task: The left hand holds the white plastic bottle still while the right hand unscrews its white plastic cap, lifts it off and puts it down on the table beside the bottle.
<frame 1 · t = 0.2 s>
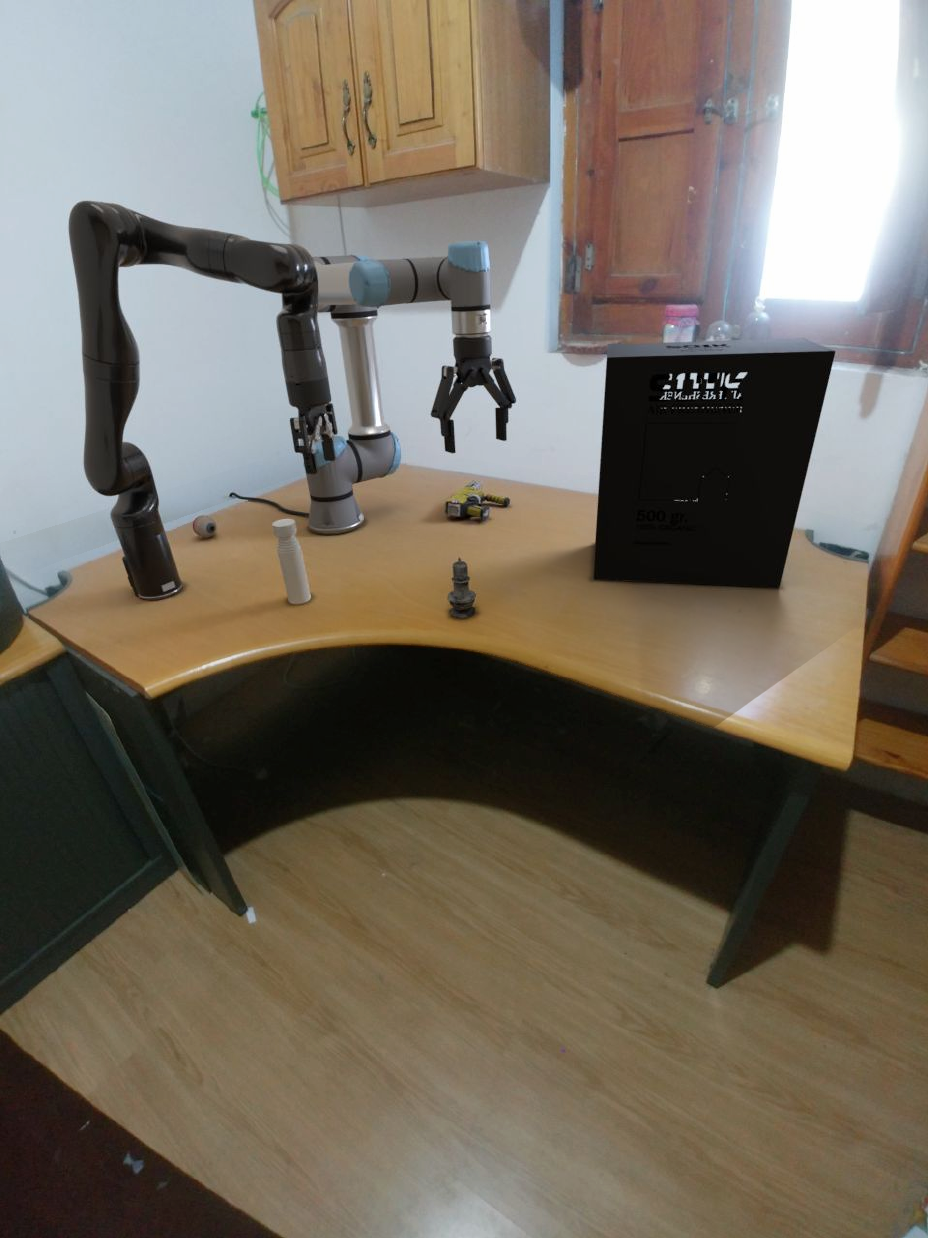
left hand: (321, 466, 115), 29 cm above the table, tool pointing down, fingers open, 8 cm apart
right hand: (476, 445, 127), 28 cm above the table, tool pointing down, fingers open, 13 cm apart
eyeball: (208, 537, 166), on the table
toy gun: (482, 508, 176), on the table
bottle: (299, 599, 131), on the table
cardboard box: (678, 564, 137), on the table
cap: (283, 523, 123), point 17 cm above the table, screwed on, not yet turned
dark grey piece: (462, 612, 123), on the table
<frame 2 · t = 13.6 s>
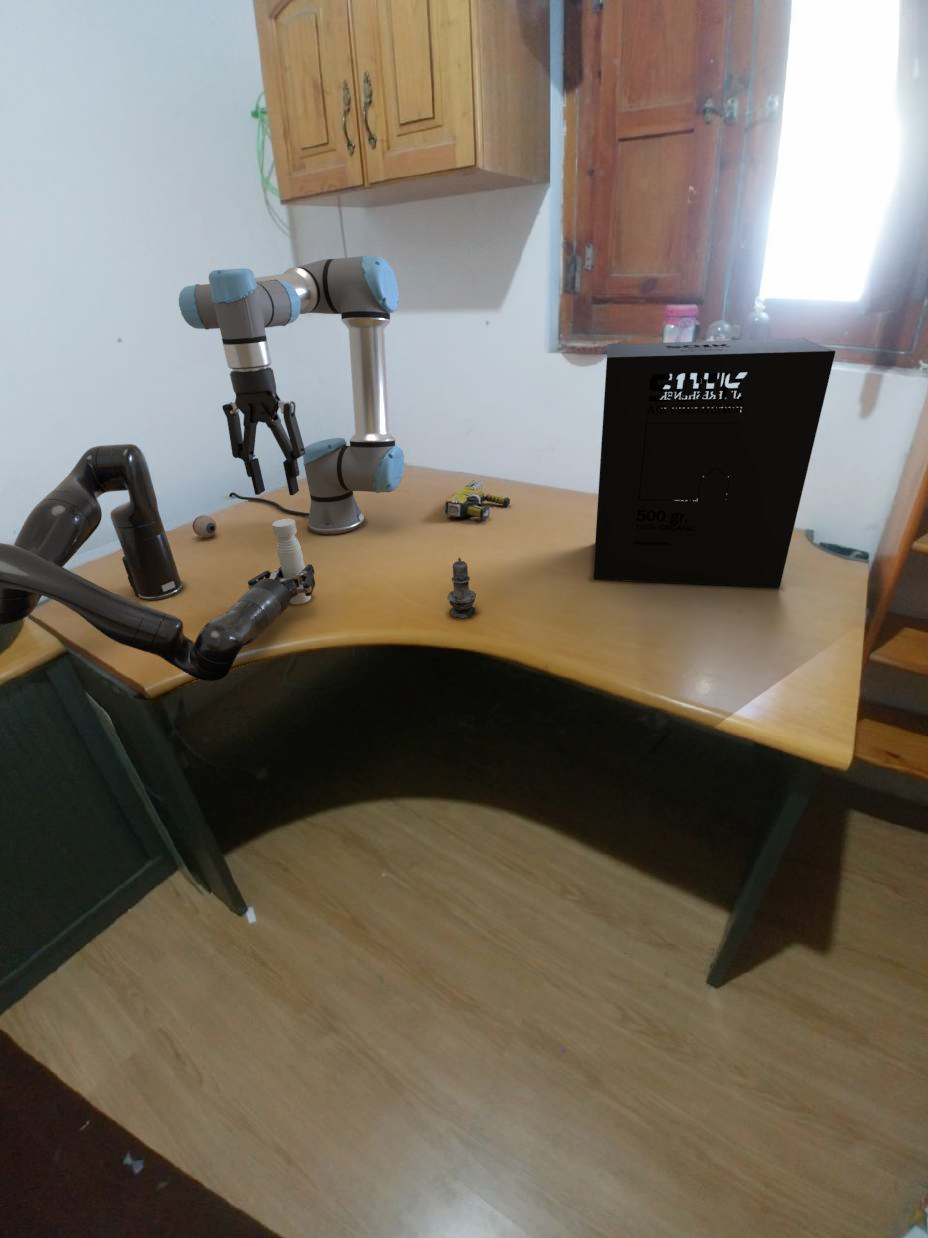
left hand: (299, 567, 130), 6 cm above the table, tool horizontal, fingers closed on bottle, 4 cm apart
right hand: (277, 492, 119), 24 cm above the table, tool pointing down, fingers open, 7 cm apart
bottle: (299, 599, 131), on the table, touching left hand
everything else where it was.
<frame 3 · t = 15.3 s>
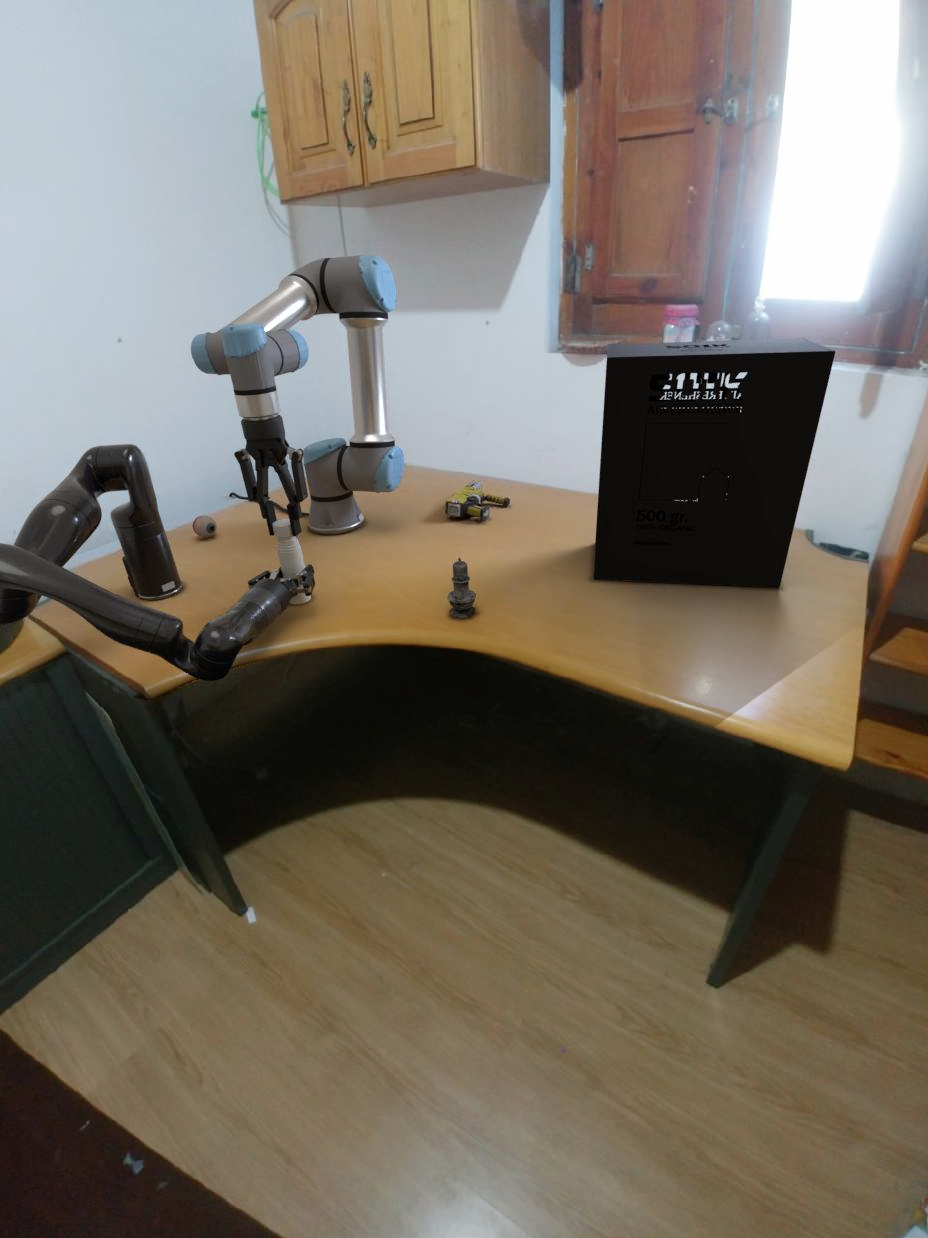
left hand: (299, 567, 130), 6 cm above the table, tool horizontal, fingers closed on bottle, 4 cm apart
right hand: (285, 533, 124), 15 cm above the table, tool pointing down, fingers closed on cap, 4 cm apart
bottle: (299, 599, 131), on the table, touching left hand
cap: (283, 523, 123), point 17 cm above the table, screwed on, not yet turned, touching right hand
everything else where it was.
when the right hand's fingers open (2 cm above the table, at t = 29.7 s): cap drops 2 cm, point 2 cm above the table.
when the left hand's fingers open (6 cm above the table, at t = 31.0 s): bottle stays where it is, on the table.
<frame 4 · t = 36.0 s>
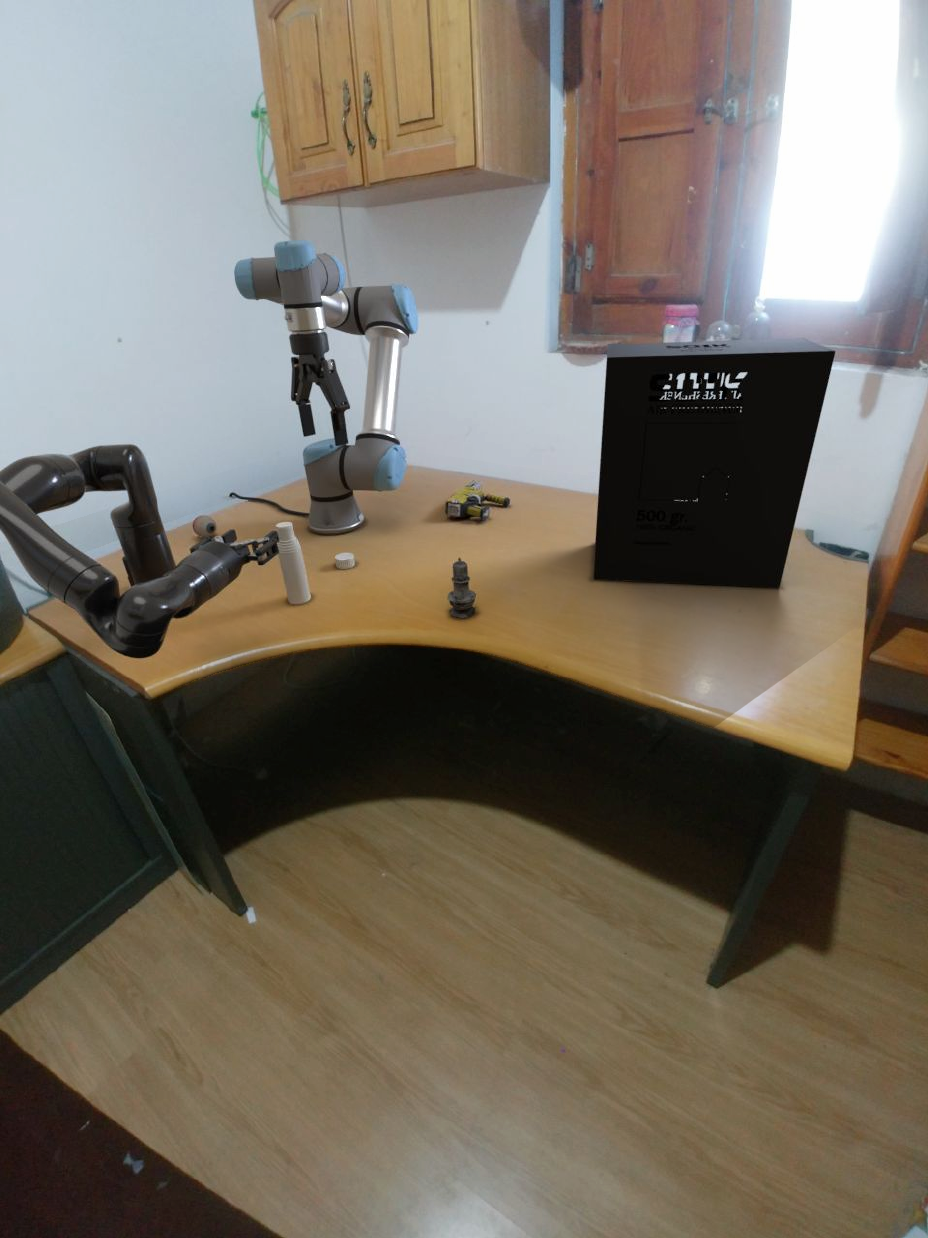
left hand: (255, 534, 112), 20 cm above the table, tool horizontal, fingers open, 8 cm apart
right hand: (325, 439, 131), 30 cm above the table, tool pointing down, fingers open, 13 cm apart
bottle: (299, 599, 131), on the table
cap: (344, 557, 145), point 2 cm above the table, off its thread
everything else where it was.
at the end: cap came off its thread; cap point 2.0 cm above the table; the left hand is holding nothing; the right hand is holding nothing; bottle tilted 0°; bottle moved 0.0 cm from its start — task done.
